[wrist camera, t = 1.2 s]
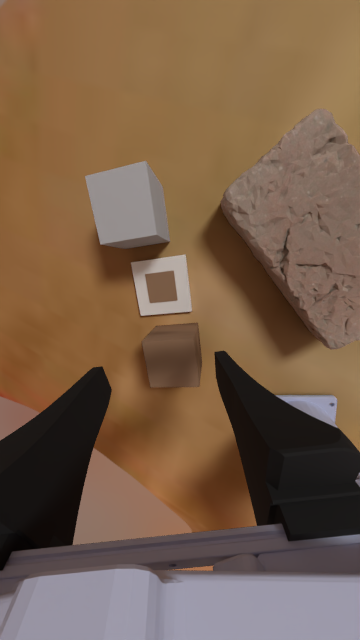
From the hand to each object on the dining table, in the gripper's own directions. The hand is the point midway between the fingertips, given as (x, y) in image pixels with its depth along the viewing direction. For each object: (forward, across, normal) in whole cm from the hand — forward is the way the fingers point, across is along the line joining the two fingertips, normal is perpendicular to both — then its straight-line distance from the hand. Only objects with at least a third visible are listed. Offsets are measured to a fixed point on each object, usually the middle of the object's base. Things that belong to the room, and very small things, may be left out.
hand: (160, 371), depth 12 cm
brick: (+10, -14, -5) cm, 18 cm away
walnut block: (+10, -1, +4) cm, 11 cm away
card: (+11, 0, -2) cm, 11 cm away
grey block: (+13, +1, -9) cm, 16 cm away
